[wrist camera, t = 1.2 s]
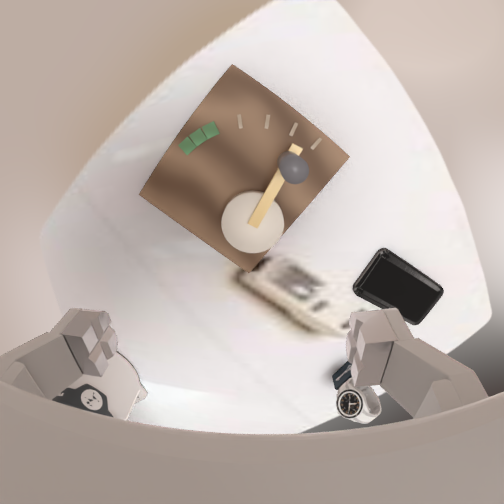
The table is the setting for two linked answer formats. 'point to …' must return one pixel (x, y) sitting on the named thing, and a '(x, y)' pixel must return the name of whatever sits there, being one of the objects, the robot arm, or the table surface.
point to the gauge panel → (238, 160)
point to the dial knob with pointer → (262, 207)
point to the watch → (355, 397)
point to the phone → (397, 286)
